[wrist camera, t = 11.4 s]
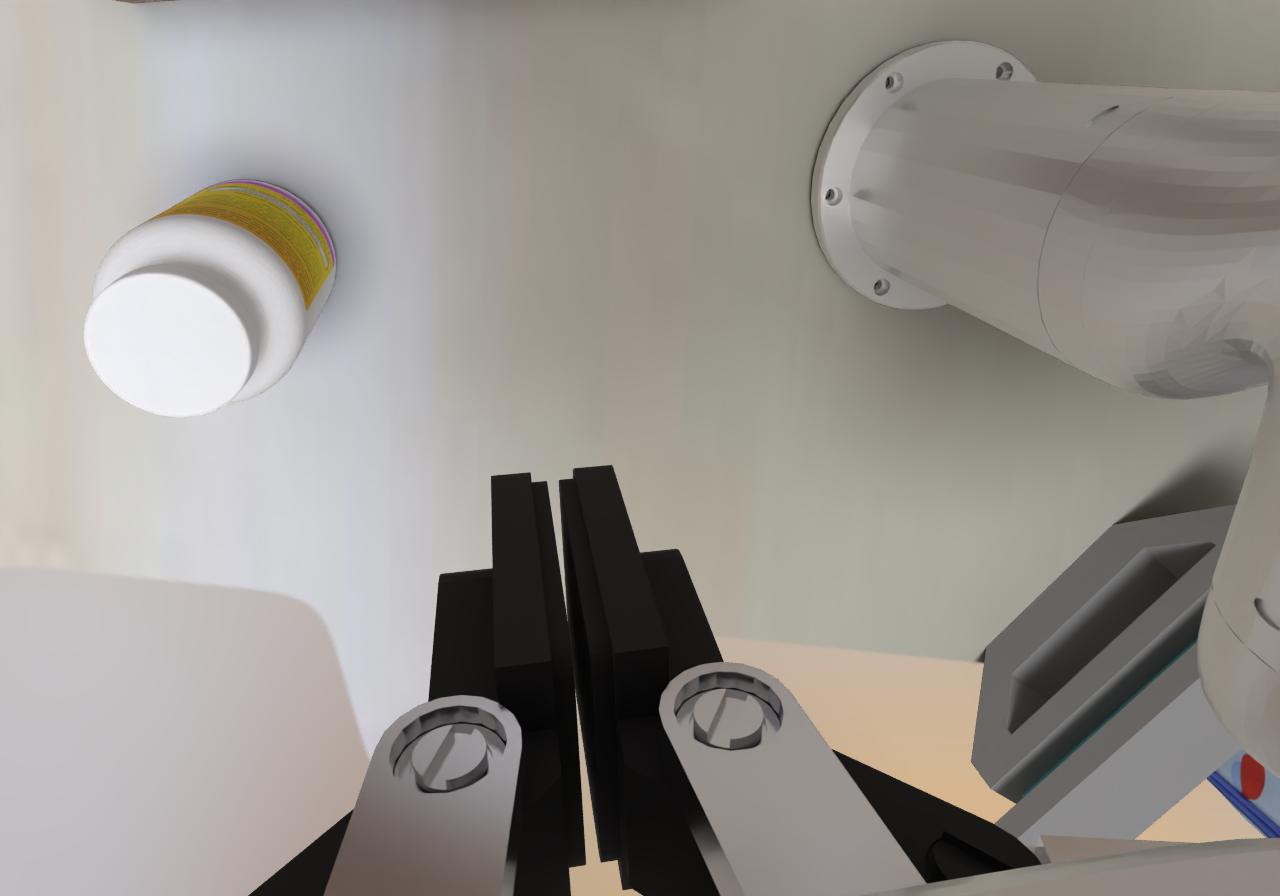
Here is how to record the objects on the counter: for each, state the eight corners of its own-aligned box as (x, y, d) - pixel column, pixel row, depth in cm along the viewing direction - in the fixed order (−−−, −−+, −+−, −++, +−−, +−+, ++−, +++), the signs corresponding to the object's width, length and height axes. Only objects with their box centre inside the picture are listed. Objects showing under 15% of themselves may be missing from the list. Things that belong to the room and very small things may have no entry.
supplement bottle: (194, 151, 34) (63, 200, 23) (355, 211, 36) (310, 282, 25) (162, 299, 36) (28, 411, 25) (316, 347, 39) (258, 469, 27)
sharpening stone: (981, 753, 61) (1080, 884, 51) (916, 713, 58) (1009, 846, 48) (1247, 506, 55) (1414, 601, 46) (1192, 447, 52) (1359, 536, 42)
